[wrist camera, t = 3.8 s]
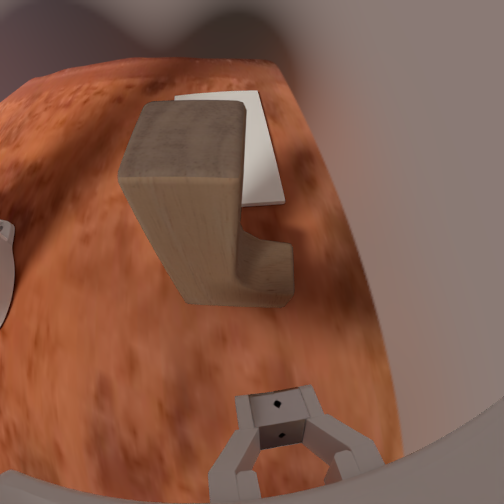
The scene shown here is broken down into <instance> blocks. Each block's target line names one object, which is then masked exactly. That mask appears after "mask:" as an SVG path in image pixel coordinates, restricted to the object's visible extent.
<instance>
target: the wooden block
mask: <svg viewBox="0 0 504 504" xmlns="http://www.w3.org/2000/svg"><path fill="white" fill-rule="evenodd" d="M246 116H247V109H246V107H245V105H244V103H243V102H240V101H236V100H172V101H153V102H150V103H147V104H146V105H145V106H144V107H143V109H142V112H141V114H140V116H139V119H138V121H137V123H136V126H135V128H134V130H133V133H132V135H131V138H130V140H129V143H128V146H127V148H126V151H125V153H124V156H123V159H122V162H121V164H120V167H119V170H118V183H119V185H120V187H121V189H122V191H123V193H124V195H125V197H126V199H127V201H128V203H129V204H130V206H131V208H132V210H133V212H134V214H135V216H136V218H137V220H138V222H139V223H140V225H141V227H142V229H143V231H144V233H145V234H146V236H147V238H148V240H149V242H150V243H151V245H152V247H153V249H154V250H155V252H156V254H157V256H158V257H159V259H160V261H161V263H162V264H163V266H164V268H165V269H166V271H167V273H168V274H169V276H170V278H171V279H172V281H173V283H174V284H175V286H176V288H177V289H178V291H179V293H180V294H181V296H182V297H183V299H184V301H185V302H186V303H188V304H200V305H219V306H242V307H277V308H282V307H284V306H285V305H286V304H287V303H288V301H289V300H290V299H291V298H292V296H293V294H294V262H293V247H292V245H291V244H290V243H284V242H276V241H268V240H260V239H258V238H257V237H255V236H253V235H251V234H249V233H247V232H245V231H244V230H243V228H242V226H241V224H240V220H241V206H242V192H243V178H244V157H245V136H246Z"/></svg>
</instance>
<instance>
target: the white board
mask: <svg viewBox="0 0 504 504" xmlns="http://www.w3.org/2000/svg"><path fill="white" fill-rule="evenodd" d="M175 100H236V101H240V102H243V103H244V105H245V107H246V109H247V116H246V136H245V157H244V178H243V192H242V206H241V207H248V206H262V205H276V204H285V197H284V193H283V189H282V184H281V180H280V176H279V172H278V168H277V163H276V159H275V155H274V151H273V147H272V143H271V139H270V136H269V132H268V128H267V124H266V120H265V117H264V113H263V109H262V105H261V102H260V98H259V94H258V91H228V92H212V93H199V94H189V95H180V96H175Z"/></svg>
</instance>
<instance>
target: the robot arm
mask: <svg viewBox="0 0 504 504" xmlns="http://www.w3.org/2000/svg"><path fill="white" fill-rule="evenodd" d="M14 233H15V227H14V225H13V224H11V223H10V222H8V221H5V220H1V219H0V327H1V325H2V323H3V321H4V319H5V317H6V314H7V311H8V309H9V305H10V302H11V298H12V293H13V287H14V276H15V267H14V258H13V252H12V244H13V239H14ZM235 404H236V411H237V418H238V425H239V430H235V432H234V433H233V435H232V437H231V438H230V440H229V441H228V443H227V445H226V446H225V448H224V449H223V451H222V452H221V454H220V456H219V457H218V459H217V460H216V462H215V463H214V465H213V466H212V468H211V469H210V471H209V472H208V480H209V494H210V503H160V502H146V501H136V500H128V499H120V498H114V497H108V496H102V495H97V494H92V493H87V492H83V491H78V490H74V489H70V488H66V487H63V486H59V485H56V484H52V483H49V482H46V481H43V480H40V479H37V478H34V477H31V476H28V475H26V474H23V473H21V472H18V471H15V470H8V471H6V472H4V473H2V474H0V504H504V396H503V397H502V398H501V399H500V400H498V401H497V402H496V403H495V404H493V405H492V406H490V407H489V408H488V409H486V410H485V411H484V412H482V413H481V414H479V415H478V416H476V417H475V418H473V419H472V420H470V421H469V422H467V423H465V424H464V425H462V426H461V427H459V428H457V429H456V430H454V431H453V432H451V433H449V434H447V435H446V436H444V437H442V438H440V439H439V440H437V441H435V442H433V443H431V444H429V445H427V446H425V447H424V448H422V449H419V450H417V451H416V452H413V453H411V454H409V455H407V456H405V457H403V458H400V459H398V460H396V461H394V462H391V463H389V464H386V465H385V464H384V462H383V460H382V458H381V456H380V454H379V452H378V450H377V448H376V446H375V444H374V442H373V440H371V439H369V438H367V437H366V436H364V435H362V434H360V433H359V432H357V431H355V430H354V429H352V428H350V427H349V426H347V425H345V424H344V423H342V422H340V421H339V420H337V419H335V418H334V417H332V416H330V415H329V414H325V415H324V413H323V410H322V408H321V406H320V403H319V401H318V399H317V396H316V394H315V391H314V389H313V387H312V386H311V385H306V386H300V387H294V388H289V389H283V390H278V391H273V392H267V393H259V394H250V395H241V396H235ZM298 443H302V444H304V445H305V446H306V447H307V448H308V449H310V450H311V451H312V452H313V453H314V454H316V455H317V456H318V457H319V458H321V459H322V460H323V461H324V462H326V463H327V464H328V465H329V466H330V467H329V469H328V472H327V474H326V476H325V478H324V482H325V485H324V486H321V487H317V488H313V489H309V490H304V491H300V492H295V493H290V494H285V495H279V496H274V497H267V498H261V494H260V489H259V485H258V480H257V475H256V472H254V471H252V468H253V466H254V464H255V462H256V459H257V457H258V455H259V453H260V450H264V449H270V448H275V447H280V446H286V445H292V444H298Z"/></svg>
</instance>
